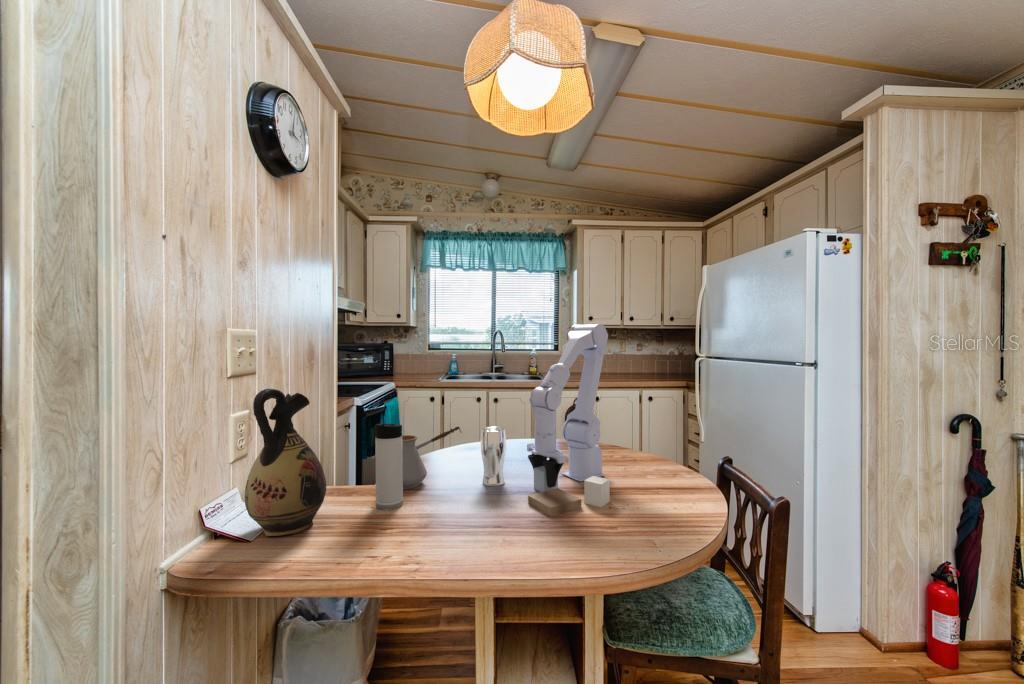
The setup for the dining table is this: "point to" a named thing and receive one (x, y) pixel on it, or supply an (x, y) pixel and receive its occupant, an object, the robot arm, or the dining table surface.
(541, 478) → the slate block
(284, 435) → the ceramic jug
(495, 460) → the beer glass
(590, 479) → the cream block
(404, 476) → the coffee pot
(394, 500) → the travel mug
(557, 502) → the brown block
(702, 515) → the dining table surface
